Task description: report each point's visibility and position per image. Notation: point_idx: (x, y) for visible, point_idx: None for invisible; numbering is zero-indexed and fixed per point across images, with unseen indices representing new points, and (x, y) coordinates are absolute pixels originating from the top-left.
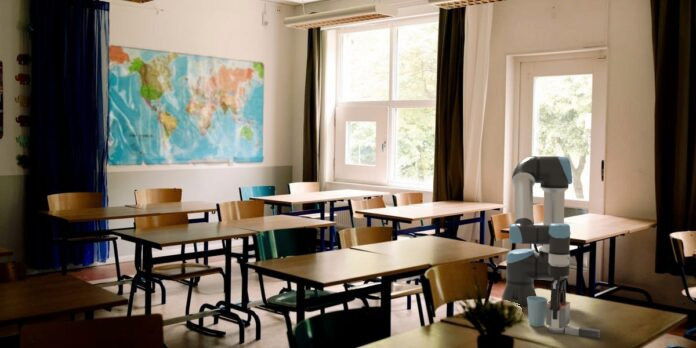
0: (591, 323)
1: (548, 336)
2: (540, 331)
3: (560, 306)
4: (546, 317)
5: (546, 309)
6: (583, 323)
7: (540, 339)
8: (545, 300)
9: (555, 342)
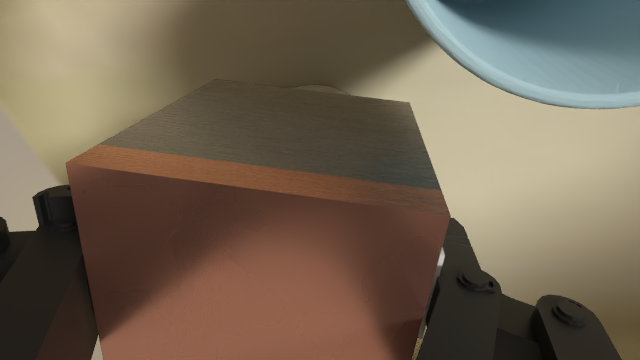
0: (636, 349)
1: (148, 99)
2: (252, 12)
3: (111, 348)
4: (184, 99)
5: (128, 128)
6: (626, 305)
7: (34, 51)
8: (496, 79)
9: (43, 162)
